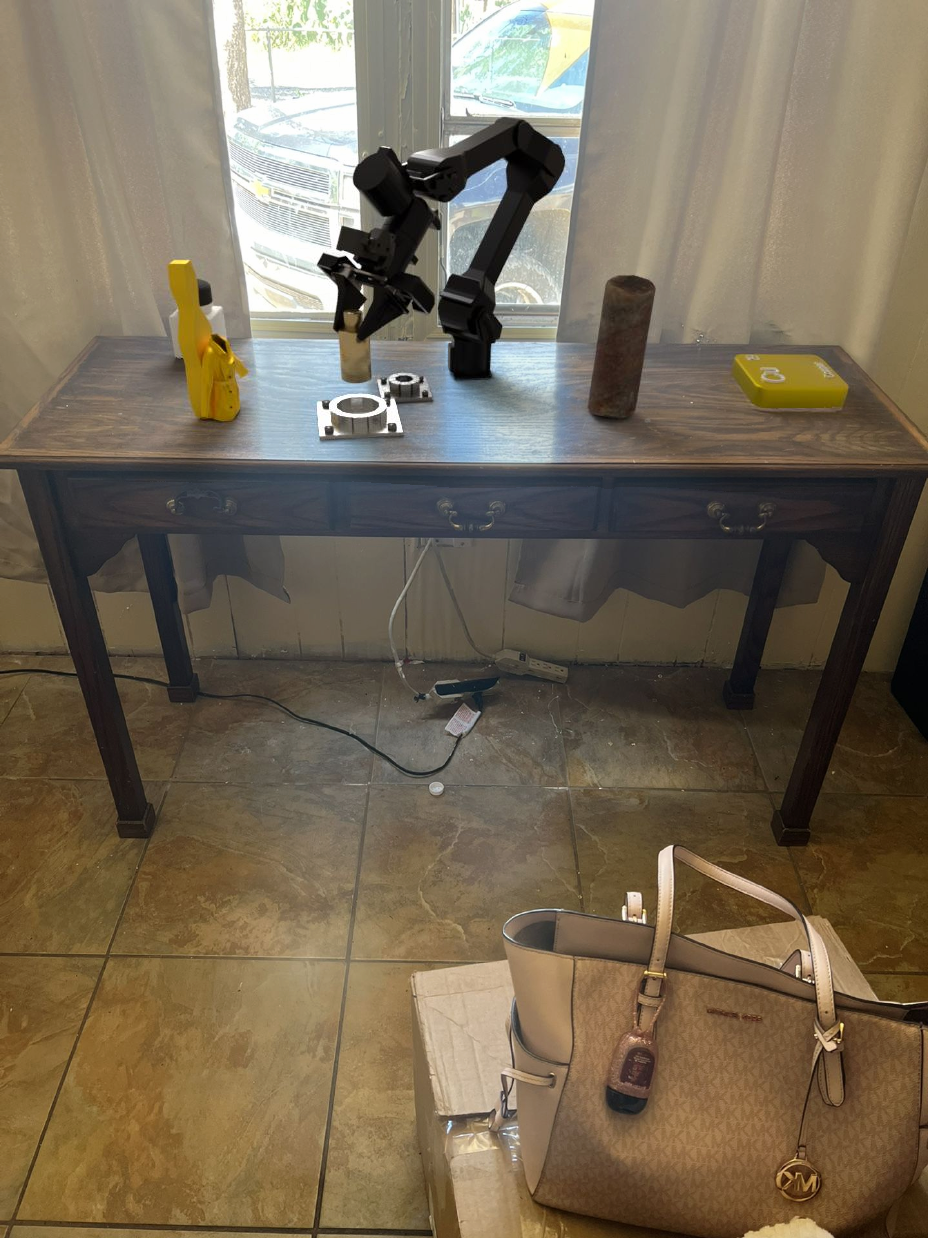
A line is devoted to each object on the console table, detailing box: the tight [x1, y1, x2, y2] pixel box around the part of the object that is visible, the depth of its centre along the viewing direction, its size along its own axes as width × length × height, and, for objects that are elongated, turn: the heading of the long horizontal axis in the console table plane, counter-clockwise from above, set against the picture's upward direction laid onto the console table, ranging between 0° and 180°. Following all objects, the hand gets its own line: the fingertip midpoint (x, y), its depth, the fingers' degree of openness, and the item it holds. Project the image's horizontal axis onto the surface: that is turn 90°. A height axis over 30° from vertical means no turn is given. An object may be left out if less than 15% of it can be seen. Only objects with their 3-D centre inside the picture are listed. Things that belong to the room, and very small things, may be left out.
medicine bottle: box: [168, 278, 228, 359], centre depth 151 cm, size 7×7×12 cm
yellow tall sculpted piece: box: [167, 259, 249, 422], centre depth 128 cm, size 18×8×22 cm, turn 172°
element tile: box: [731, 353, 850, 409], centre depth 145 cm, size 15×15×5 cm
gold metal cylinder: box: [338, 309, 373, 384], centre depth 127 cm, size 4×4×10 cm
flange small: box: [376, 372, 433, 403], centre depth 142 cm, size 8×8×2 cm
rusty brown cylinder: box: [587, 274, 656, 420], centre depth 132 cm, size 8×7×20 cm
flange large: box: [316, 393, 404, 441], centre depth 133 cm, size 12×12×2 cm
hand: (347, 335), depth 125 cm, fingers closed on gold metal cylinder, 4 cm apart
